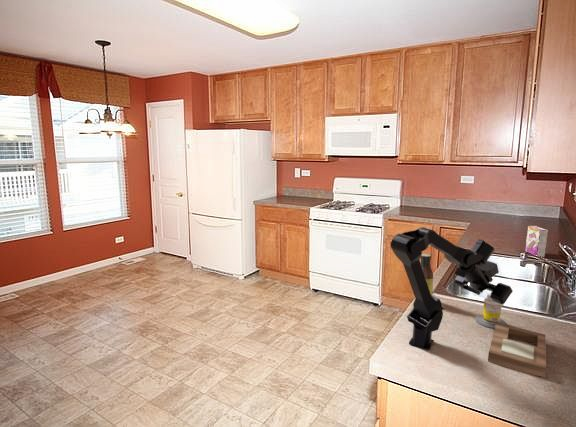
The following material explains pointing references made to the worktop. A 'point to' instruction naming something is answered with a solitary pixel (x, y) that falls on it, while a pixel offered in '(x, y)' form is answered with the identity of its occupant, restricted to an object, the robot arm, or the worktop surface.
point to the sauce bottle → (427, 270)
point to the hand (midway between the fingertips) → (491, 298)
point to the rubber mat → (480, 320)
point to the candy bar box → (536, 240)
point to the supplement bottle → (491, 310)
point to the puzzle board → (518, 350)
